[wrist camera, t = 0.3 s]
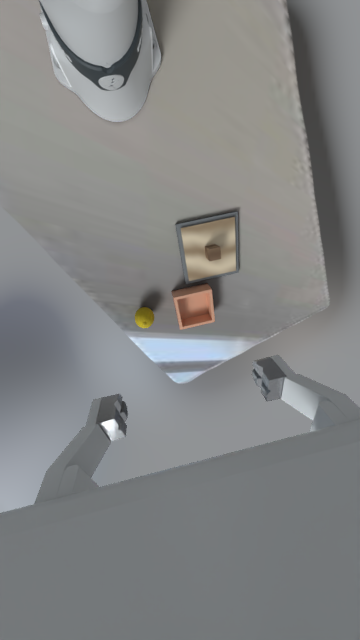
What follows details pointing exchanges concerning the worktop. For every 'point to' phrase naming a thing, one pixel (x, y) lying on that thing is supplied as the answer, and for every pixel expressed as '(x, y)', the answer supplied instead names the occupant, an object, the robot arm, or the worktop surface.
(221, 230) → the lid
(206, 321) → the salmon open box
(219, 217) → the mat
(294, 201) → the worktop surface
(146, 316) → the lemon
